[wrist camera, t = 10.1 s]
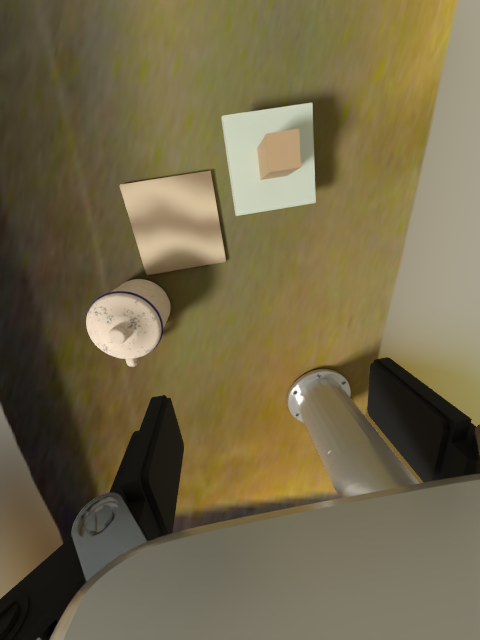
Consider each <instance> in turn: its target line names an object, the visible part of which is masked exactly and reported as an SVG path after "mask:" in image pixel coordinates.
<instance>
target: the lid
mask: <svg viewBox="0 0 480 640" xmlns="http://www.w3.org/2000/svg"><path fill="white" fill-rule="evenodd" d="M222 126H223V133H224V140H225V146H226V153H227V160H228V167H229V174H230V180H231V187H232V194H233V201H234V208H235V214H236V216H239V215H245V214H251V213H257V212H263V211H269V210H275V209H281V208H287V207H293V206H299V205H305V204H311V203H316V199H315V168H314V137H313V106H312V103H306V104H299V105H292V106H285V107H279V108H272V109H265V110H258V111H251V112H245V113H238V114H231V115H224V116H222Z"/></svg>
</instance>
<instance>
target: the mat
mask: <svg viewBox="0 0 480 640" xmlns="http://www.w3.org/2000/svg"><path fill="white" fill-rule="evenodd" d="M120 188H121V192H122V195H123V198H124V202H125V205H126V208H127V212H128V215H129V218H130V222H131V225H132V228H133V232H134V235H135V238H136V242H137V245H138V248H139V252H140V255H141V258H142V262H143V265H144V268H145V272H146V275H151V274H157V273H163V272H169V271H174V270H180V269H186V268H192V267H198V266H203V265H209V264H215V263H221V262H226V258H225V252H224V246H223V240H222V234H221V229H220V223H219V217H218V211H217V205H216V200H215V194H214V188H213V182H212V176H211V171H204V172H198V173H192V174H185V175H179V176H172V177H166V178H160V179H153V180H147V181H140V182H134V183H128V184H121V185H120Z"/></svg>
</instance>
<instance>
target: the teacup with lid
mask: <svg viewBox="0 0 480 640" xmlns="http://www.w3.org/2000/svg"><path fill="white" fill-rule="evenodd" d="M169 315H170V301H169V298H168V296H167V294H166V293H165V291H164V290H163V289H162V288H161V287H160V286H158V285H157V284H155V283H153V282H151V281H148V280H144V279H134V280H130V281H127V282H125V283H123V284H122V285H120V286H119V287H117V288H116V289H114V290H113V291H112V292H110V293H107V294H104V295H102V296H101V297H99V298H98V299H97V300H95V301H94V303H93V304H92V305H91V307H90V309H89V311H88V314H87V319H86V325H87V330H88V333H89V336H90V338H91V339H92V341H93V342H94V344H95V345H96V346H97V347H98V348H99V349H101V350H102V351H104V352H105V353H107V354H109V355H111V356H114V357H117V358H123V359H126V363H127V365H128V366H136V365H137V364H138V362H139V360H140V357H141V356H144V355H146V354H148V353H149V352H151V351H152V350H153V349H154V348H155V347H156V346H157V345H158V344H159V342H160V340H161V338H162V334H163V329H164V326H165V324H166V322H167V320H168V317H169Z"/></svg>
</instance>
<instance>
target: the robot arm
mask: <svg viewBox="0 0 480 640" xmlns="http://www.w3.org/2000/svg"><path fill="white" fill-rule="evenodd" d="M350 395H351V390H350V385H349V383H348V381H347V380H346V379H345V378H344V376H343V375H341V374H340V373H339V372H336V371H334V370H330V369H318V370H314V371H311V372H308V373H306V374H304V375H303V376H301V377H300V378H299V379H298V380H297V381H296V382H295V383H294V384H293V385H292V387H291V388H290V390H289V393H288V397H287V403H288V407H289V410H290V412H291V414H292V415H293V416H294V417H295V418H296V419H297V420H299V421H301V422H304V424H305V426H306V428H307V430H308V432H309V434H310V436H311V439H312V441H313V443H314V445H315V447H316V449H317V452H318V454H319V456H320V458H321V460H322V462H323V464H324V467H325V469H326V471H327V473H328V475H329V477H330V479H331V482H332V484H333V486H334V488H335V490H336V492H337V493H338V495H339V496H340V497H341V498H339V499H334V500H329V501H324V502H319V503H314V504H308V505H303V506H298V507H293V508H288V509H283V510H278V511H273V512H268V513H263V514H258V515H253V516H248V517H243V518H238V519H233V520H228V521H223V522H219V523H214V524H210V525H205V526H201V527H196V528H191V529H187V530H183V531H179V532H175V533H172V531H173V524H174V517H175V510H176V503H177V495H178V488H179V481H180V474H181V467H182V459H183V452H184V444H183V440H182V436H181V433H180V429H179V426H178V422H177V419H176V415H175V412H174V408H173V405H172V401H171V399H170V398H167V397H166V396H165V395H163V396H157V397H152V398H151V400H150V403H149V406H148V409H147V411H146V414H145V417H144V419H143V422H142V425H141V427H140V430H139V431H135V432H134V433H133V435H132V437H131V440H130V442H129V445H128V447H127V450H126V452H125V455H124V457H123V460H122V462H121V465H120V467H119V470H118V472H117V475H116V477H115V480H114V482H113V485H112V487H111V490H110V492H109V493H105V494H102V495H100V496H98V497H96V498H95V499H93V500H92V501H90V502H89V503H88V504H87V505H86V506H85V507H84V508H83V509H82V510H81V512H80V513H79V514H78V516H77V518H76V520H75V521H74V524H73V528H72V537H71V538H70V539H68V540H67V541H66V542H65V543H64V544H63V545H62V546H60V547H59V548H58V549H57V550H56V551H55V552H54V553H52V554H51V555H50V556H49V557H48V558H47V559H46V560H45V561H43V562H42V563H41V564H40V565H39V566H38V567H36V568H35V569H34V570H33V571H32V572H31V573H30V574H28V575H27V576H26V577H25V578H24V579H23V580H22V581H20V582H19V583H18V584H17V585H16V586H15V587H14V588H12V589H11V590H10V591H9V592H8V593H7V594H6V595H4V596H3V597H2V598H1V599H0V640H480V425H478V426H477V427H476V426H474V425H473V424H472V423H471V419H470V418H469V417H468V416H466V415H465V414H464V413H462V412H461V411H460V410H458V409H457V408H456V407H454V406H453V405H452V404H450V403H449V402H448V401H446V400H445V399H444V398H442V397H441V396H439V395H438V394H437V393H436V392H434V391H433V390H432V389H430V388H429V387H428V386H426V385H425V384H424V383H422V382H421V381H420V380H418V379H417V378H415V377H414V376H413V375H411V374H410V373H409V372H408V371H406V370H405V369H403V368H402V367H401V366H399V365H398V364H397V363H395V362H394V361H393V360H391V359H390V358H381V359H376V360H374V362H373V363H372V364H371V366H370V379H369V394H368V408H367V409H368V414H369V416H370V417H371V419H372V420H373V421H374V422H375V423H376V425H377V426H378V427H379V428H380V430H381V431H382V432H383V433H384V434H385V436H386V437H387V438H388V439H389V441H391V443H392V444H393V445H394V446H395V448H396V449H397V450H398V451H399V453H400V454H401V455H402V456H403V458H404V459H405V460H406V461H407V462H408V464H409V465H410V466H411V467H412V468H413V470H414V471H415V472H416V473H417V475H418V476H419V477H420V478H421V480H423V482H424V483H419V482H418V481H417V480H416V479H415V478H414V477H413V475H412V474H411V473H410V472H409V471H408V470H407V468H406V467H405V466H404V465H403V463H402V462H401V461H400V460H399V459H398V457H397V456H396V455H395V453H394V452H393V451H392V450H391V449H390V447H389V446H388V445H387V443H386V442H385V441H384V440H383V438H382V437H381V436H380V435H379V433H378V432H377V431H376V429H375V428H374V427H373V426H372V425H371V423H370V422H369V421H368V419H367V418H366V417H365V416H364V414H363V413H362V412H361V411H360V409H359V408H358V407H357V406H356V404H355V403H354V402H353V401H352V399H351V398H350Z"/></svg>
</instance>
